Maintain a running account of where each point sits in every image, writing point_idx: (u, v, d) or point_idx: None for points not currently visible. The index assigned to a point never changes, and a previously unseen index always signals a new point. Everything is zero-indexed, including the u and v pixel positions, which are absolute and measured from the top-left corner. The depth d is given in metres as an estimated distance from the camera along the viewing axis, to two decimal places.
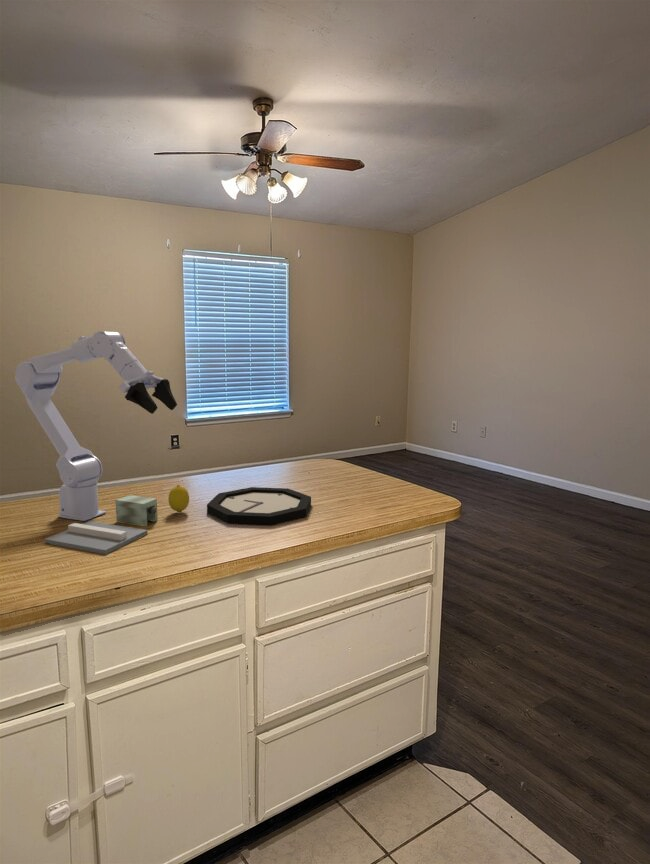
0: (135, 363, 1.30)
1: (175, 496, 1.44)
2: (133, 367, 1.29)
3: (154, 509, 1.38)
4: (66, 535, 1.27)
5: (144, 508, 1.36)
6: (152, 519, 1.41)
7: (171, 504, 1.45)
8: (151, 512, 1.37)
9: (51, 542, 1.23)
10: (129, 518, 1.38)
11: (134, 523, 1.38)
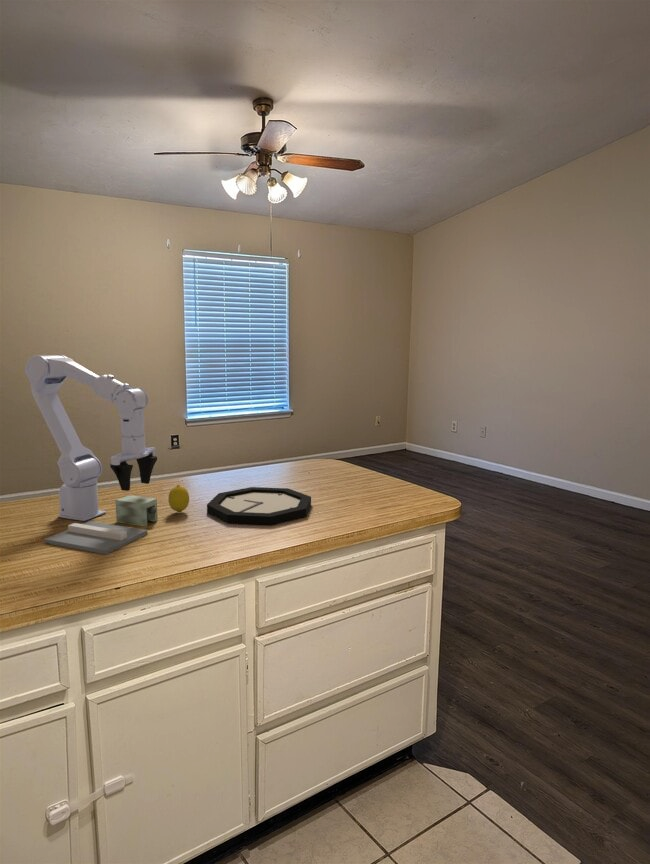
0: (139, 439, 1.35)
1: (175, 496, 1.44)
2: (135, 442, 1.35)
3: (154, 509, 1.38)
4: (66, 535, 1.27)
5: (144, 508, 1.36)
6: (152, 519, 1.41)
7: (171, 504, 1.45)
8: (151, 512, 1.37)
9: (51, 542, 1.23)
10: (129, 518, 1.38)
11: (134, 523, 1.38)
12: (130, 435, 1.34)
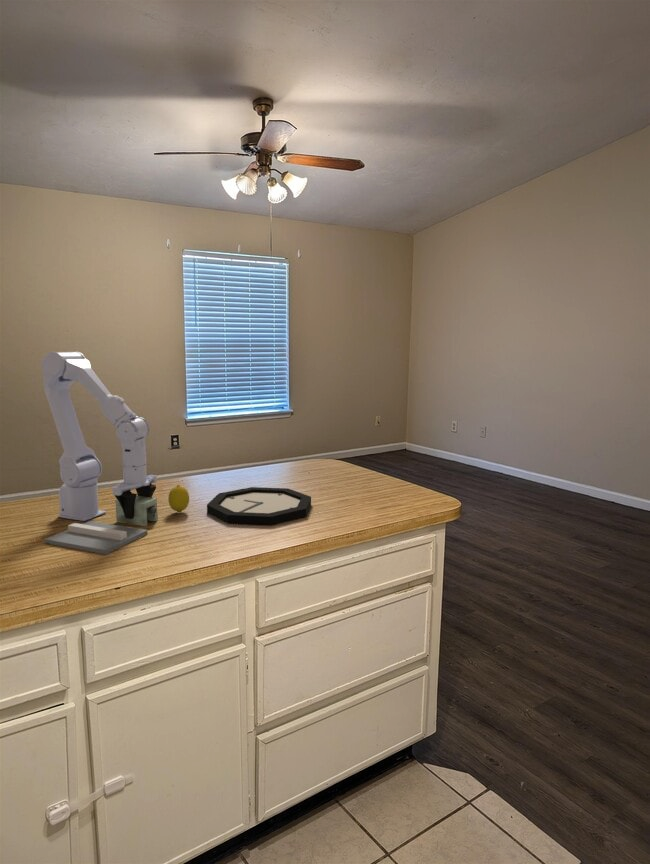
0: (141, 468, 1.36)
1: (175, 496, 1.44)
2: (136, 472, 1.36)
3: (154, 509, 1.38)
4: (66, 535, 1.27)
5: (144, 508, 1.36)
6: (152, 519, 1.41)
7: (171, 504, 1.45)
8: (151, 512, 1.37)
9: (51, 542, 1.23)
10: None
11: (134, 523, 1.38)
12: (131, 465, 1.35)
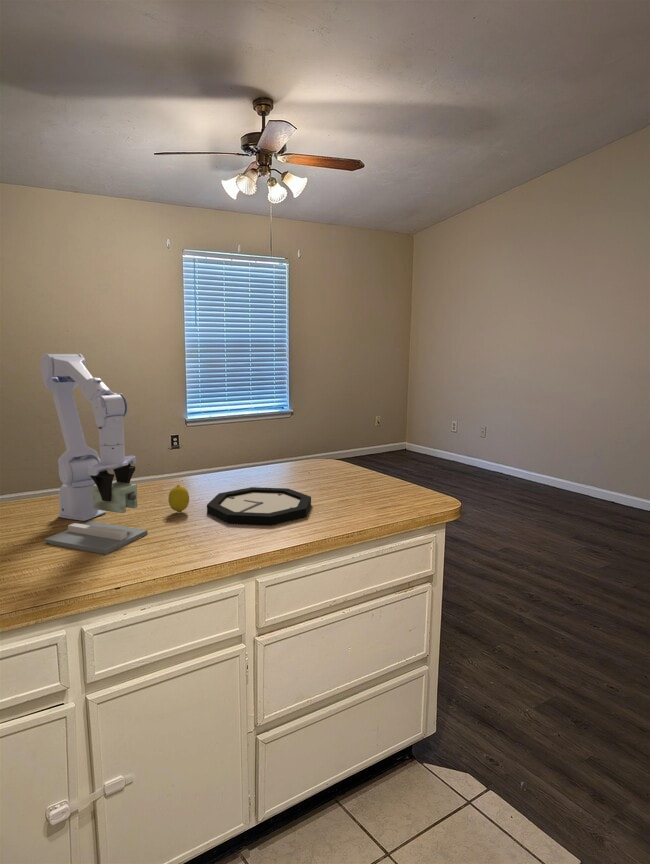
0: (118, 447, 1.28)
1: (175, 496, 1.44)
2: (114, 451, 1.28)
3: (133, 495, 1.30)
4: (66, 535, 1.27)
5: (123, 494, 1.28)
6: (131, 506, 1.33)
7: (171, 504, 1.45)
8: (130, 498, 1.30)
9: (51, 542, 1.23)
10: (107, 505, 1.30)
11: (112, 510, 1.30)
12: (103, 443, 1.27)
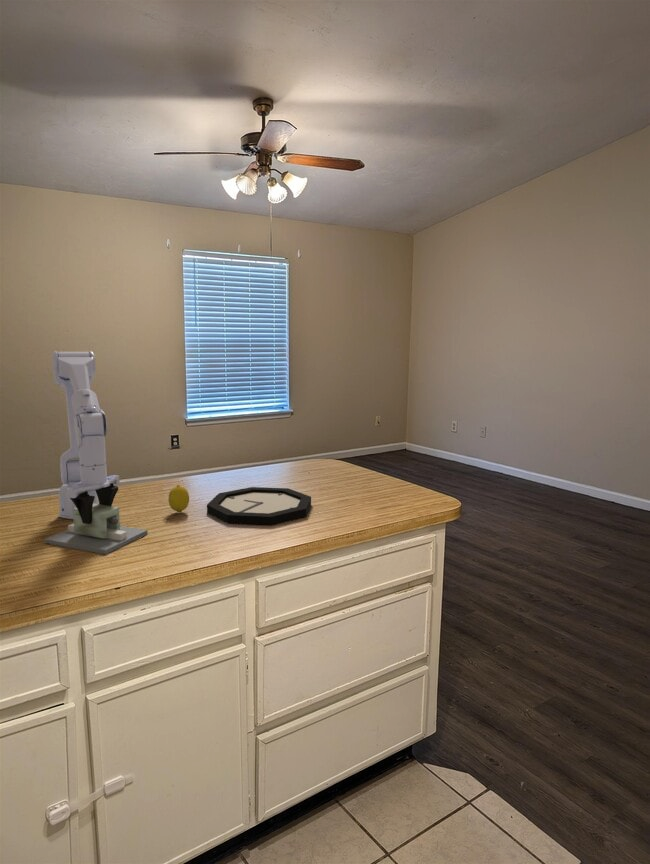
0: (99, 468, 1.23)
1: (175, 496, 1.44)
2: (94, 472, 1.22)
3: (115, 519, 1.25)
4: (66, 535, 1.27)
5: (104, 518, 1.23)
6: None
7: (171, 504, 1.45)
8: (112, 523, 1.24)
9: (51, 542, 1.23)
10: (87, 529, 1.25)
11: (93, 534, 1.24)
12: (81, 463, 1.22)
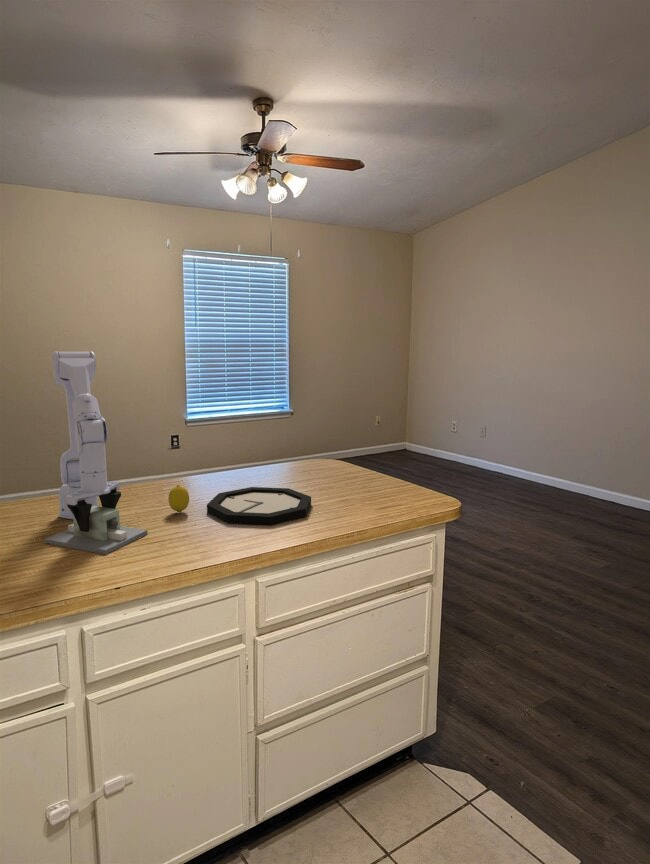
0: (100, 475, 1.23)
1: (175, 496, 1.44)
2: (95, 479, 1.23)
3: (115, 521, 1.25)
4: (66, 535, 1.27)
5: (103, 520, 1.23)
6: None
7: (171, 504, 1.45)
8: (112, 525, 1.24)
9: (51, 542, 1.23)
10: (88, 531, 1.25)
11: (93, 537, 1.24)
12: (81, 470, 1.23)
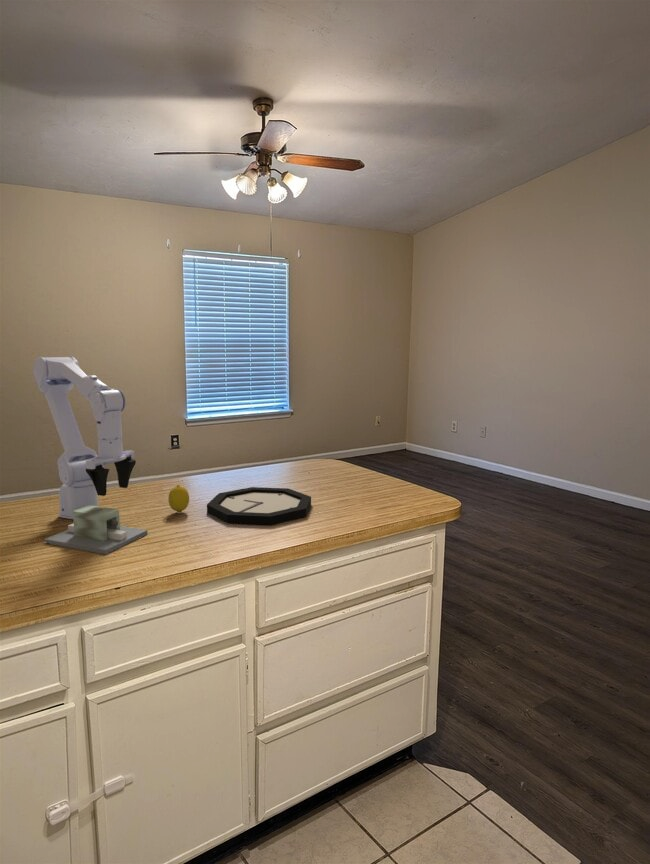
0: (116, 442, 1.30)
1: (175, 496, 1.44)
2: (112, 445, 1.30)
3: (115, 521, 1.25)
4: (66, 535, 1.27)
5: (103, 520, 1.23)
6: None
7: (171, 504, 1.45)
8: (112, 525, 1.24)
9: (51, 542, 1.23)
10: (88, 531, 1.25)
11: (93, 537, 1.24)
12: (102, 438, 1.29)
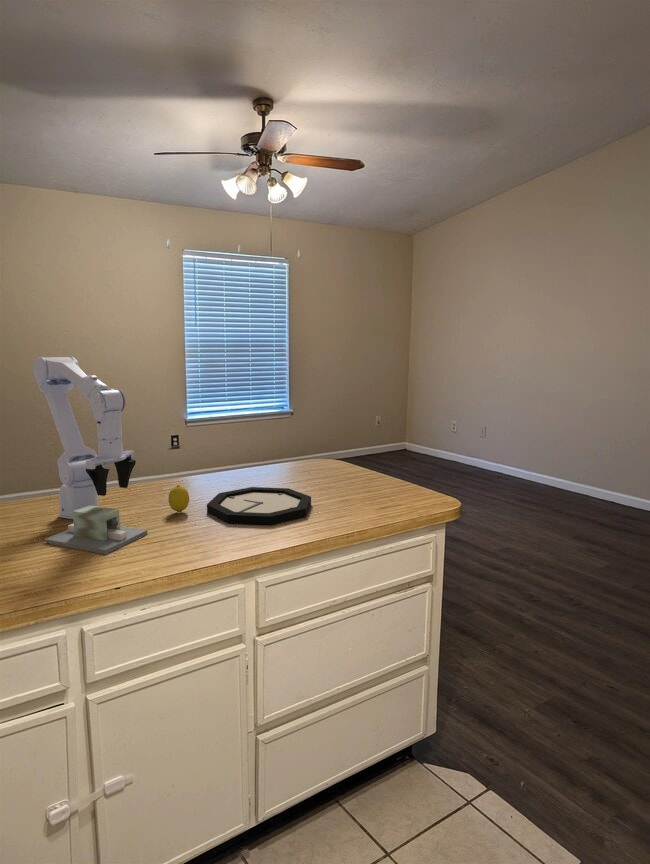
0: (116, 442, 1.30)
1: (175, 496, 1.44)
2: (112, 445, 1.30)
3: (115, 521, 1.25)
4: (66, 535, 1.27)
5: (103, 520, 1.23)
6: None
7: (171, 504, 1.45)
8: (112, 525, 1.24)
9: (51, 542, 1.23)
10: (88, 531, 1.25)
11: (93, 537, 1.24)
12: (102, 438, 1.29)
